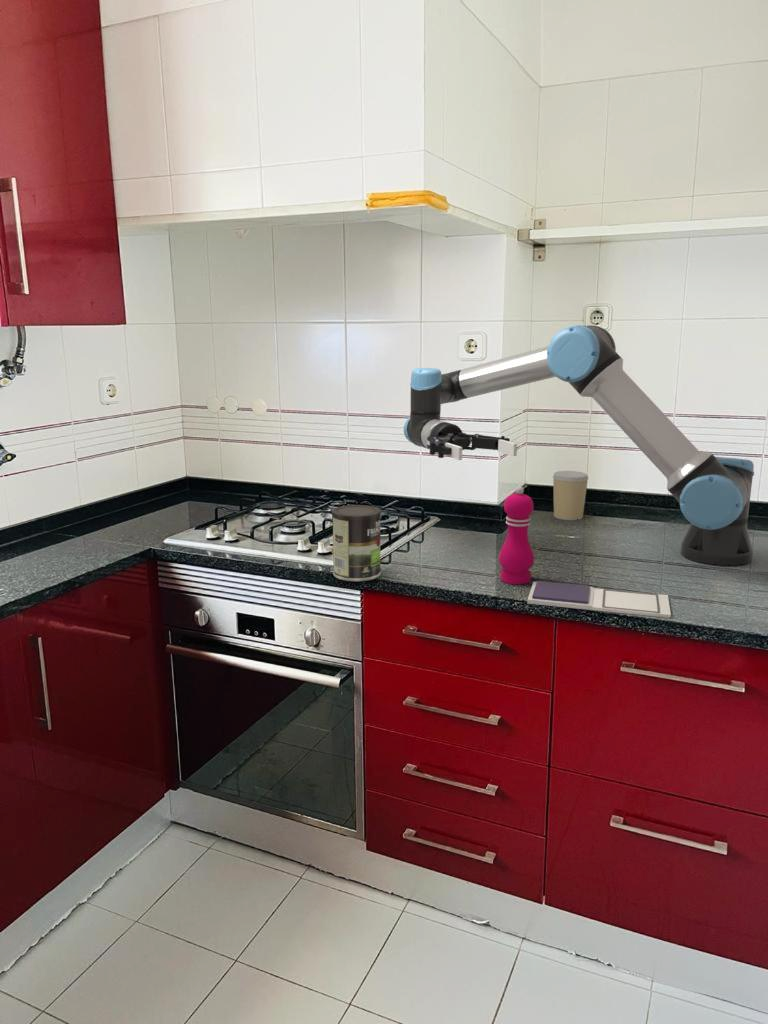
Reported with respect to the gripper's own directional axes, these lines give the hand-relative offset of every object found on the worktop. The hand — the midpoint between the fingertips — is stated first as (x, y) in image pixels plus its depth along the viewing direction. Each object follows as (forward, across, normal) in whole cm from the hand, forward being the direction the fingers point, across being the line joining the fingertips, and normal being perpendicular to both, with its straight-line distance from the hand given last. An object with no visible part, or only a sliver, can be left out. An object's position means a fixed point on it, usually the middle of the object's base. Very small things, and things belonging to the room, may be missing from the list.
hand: (488, 451), depth 169 cm
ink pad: (+25, -3, -25) cm, 35 cm away
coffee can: (-4, +29, -26) cm, 39 cm away
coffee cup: (-28, -43, -25) cm, 57 cm away
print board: (+33, -13, -25) cm, 44 cm away
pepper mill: (+12, 0, -25) cm, 28 cm away
